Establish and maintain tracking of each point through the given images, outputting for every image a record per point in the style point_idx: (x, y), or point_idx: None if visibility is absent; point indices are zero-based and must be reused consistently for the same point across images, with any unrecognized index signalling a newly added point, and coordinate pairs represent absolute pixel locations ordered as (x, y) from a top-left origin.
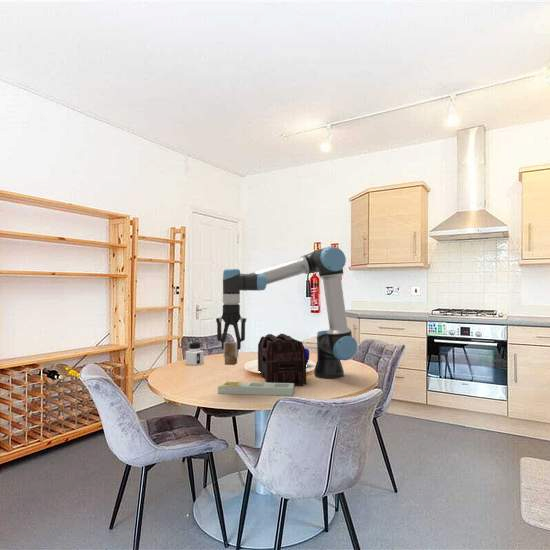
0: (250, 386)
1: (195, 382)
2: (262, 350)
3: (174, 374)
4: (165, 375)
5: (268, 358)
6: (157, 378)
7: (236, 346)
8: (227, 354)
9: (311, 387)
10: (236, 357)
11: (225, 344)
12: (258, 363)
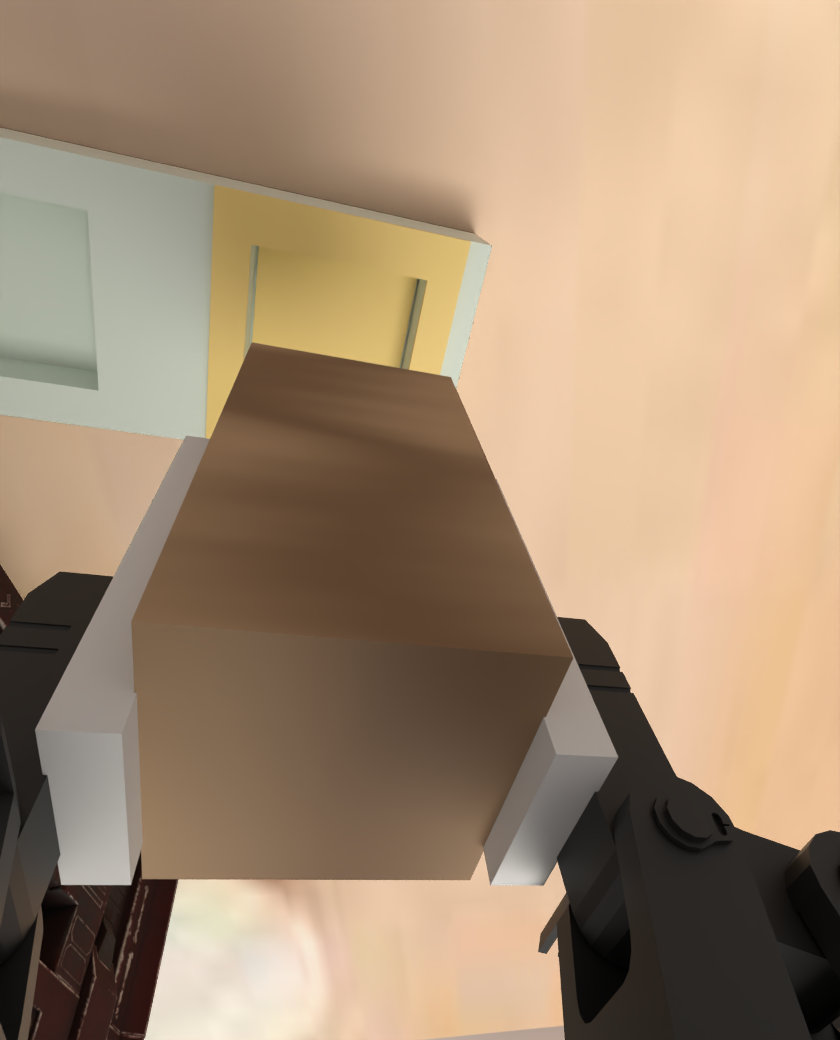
0: (52, 197)
1: (661, 623)
2: (32, 1033)
3: (773, 794)
4: (833, 773)
5: None
6: None
7: (113, 611)
8: (418, 454)
9: None
10: (196, 440)
11: (539, 641)
12: (165, 917)
